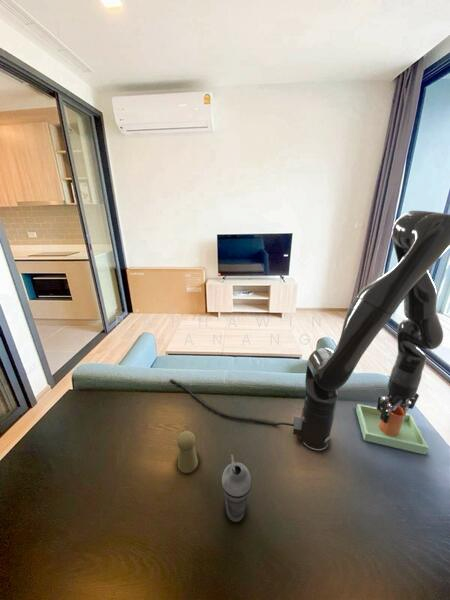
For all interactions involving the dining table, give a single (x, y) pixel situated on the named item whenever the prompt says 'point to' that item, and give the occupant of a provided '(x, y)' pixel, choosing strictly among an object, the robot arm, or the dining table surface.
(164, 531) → the dining table surface
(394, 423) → the terracotta cup
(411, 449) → the tray
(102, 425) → the dining table surface
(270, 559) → the dining table surface
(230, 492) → the beverage cup
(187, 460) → the beige pawn figure
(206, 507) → the dining table surface
